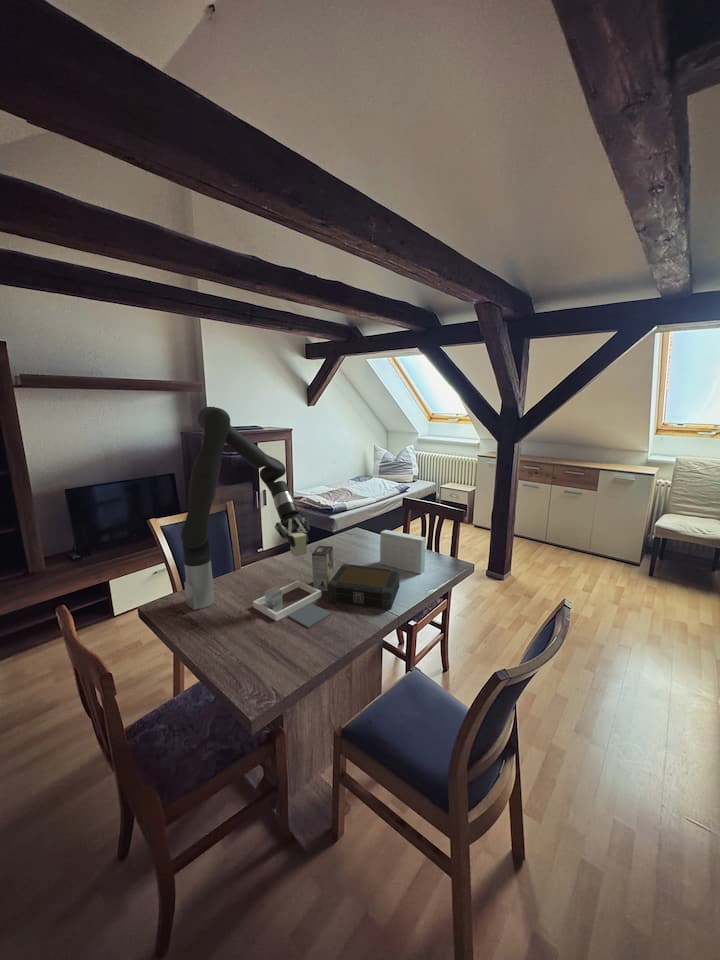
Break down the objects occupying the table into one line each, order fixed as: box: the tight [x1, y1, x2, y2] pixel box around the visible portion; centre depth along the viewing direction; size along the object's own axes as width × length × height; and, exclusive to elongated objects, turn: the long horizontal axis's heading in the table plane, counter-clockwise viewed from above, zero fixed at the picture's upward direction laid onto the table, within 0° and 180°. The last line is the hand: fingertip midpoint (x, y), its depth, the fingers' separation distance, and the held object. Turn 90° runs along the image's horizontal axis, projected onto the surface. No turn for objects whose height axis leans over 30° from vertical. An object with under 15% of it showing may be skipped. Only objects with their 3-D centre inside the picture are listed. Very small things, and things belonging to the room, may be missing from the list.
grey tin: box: [264, 586, 284, 613], centre depth 141 cm, size 4×4×8 cm
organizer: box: [252, 579, 322, 622], centre depth 147 cm, size 22×14×2 cm, turn 139°
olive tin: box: [289, 531, 308, 557], centre depth 143 cm, size 5×5×8 cm
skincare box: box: [379, 529, 427, 575], centre depth 175 cm, size 21×5×16 cm, turn 58°
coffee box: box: [311, 545, 334, 592], centre depth 158 cm, size 9×6×16 cm
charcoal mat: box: [287, 602, 332, 629], centre depth 137 cm, size 11×11×1 cm
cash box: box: [328, 563, 401, 611], centre depth 152 cm, size 25×20×8 cm
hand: (300, 544), depth 141 cm, fingers closed on olive tin, 4 cm apart
